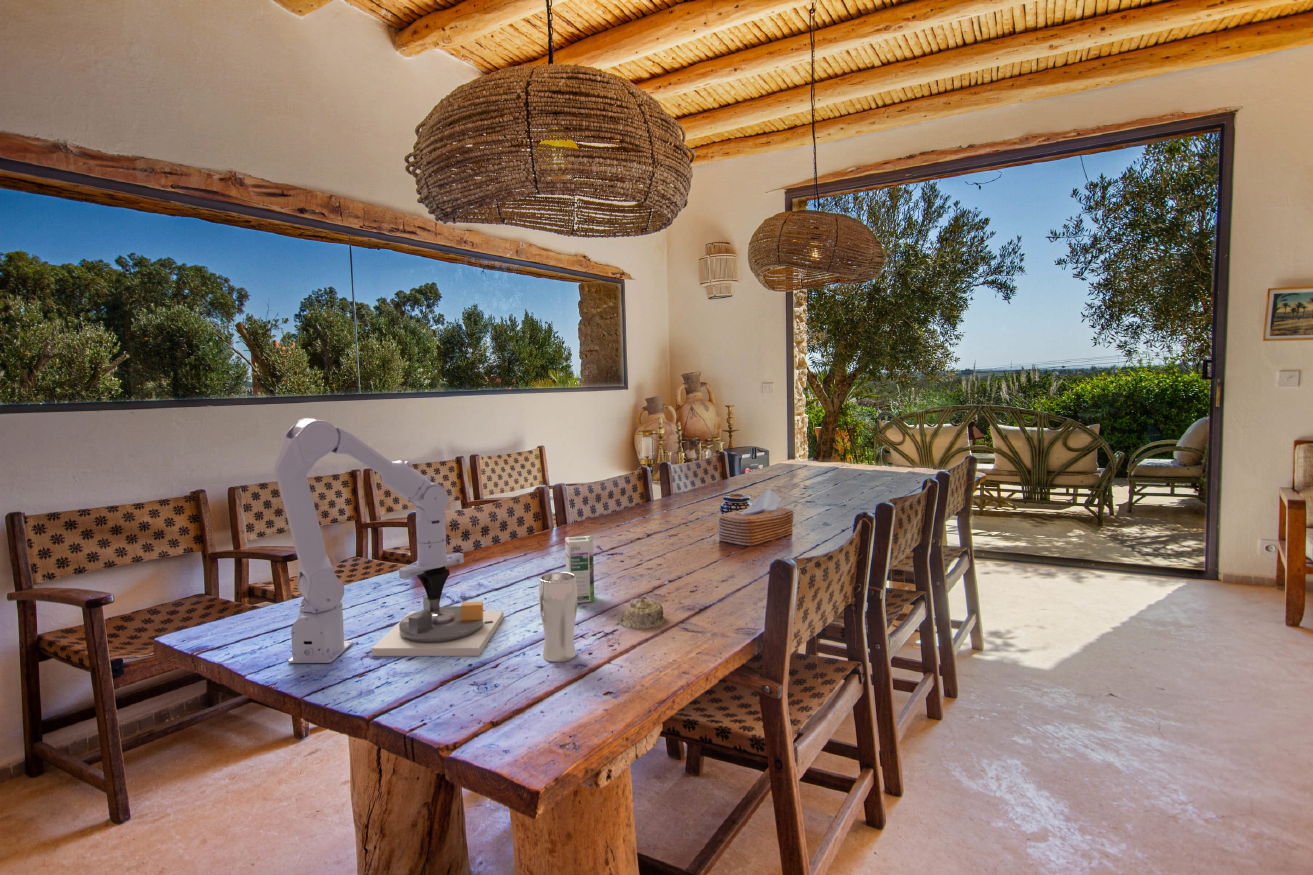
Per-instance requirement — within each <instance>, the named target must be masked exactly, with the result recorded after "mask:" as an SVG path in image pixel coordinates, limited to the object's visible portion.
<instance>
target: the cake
mask: <svg viewBox="0 0 1313 875" xmlns="http://www.w3.org/2000/svg"><path fill="white" fill-rule="evenodd" d="M629 604H630V607H629V608H626V609H625V610H624V614H621V615H620V616H619V617H618V623H619V624H620V625H621V626H623V627H626V628H628V629H651V628H650V627H653V628H655V626H657V627H659V626H661V625H663V623H664V624H665V622H666V621H665V617H664V607H663V606H662V604H661V603H658V602H657V601H654V600H651V599H650V600H649V599H644V598H641V597H640V599H633V600H631V601H630V603H629ZM658 625H659V626H658Z"/></svg>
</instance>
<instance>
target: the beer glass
mask: <svg viewBox="0 0 1313 875" xmlns="http://www.w3.org/2000/svg"><path fill="white" fill-rule="evenodd" d="M538 590H539V592H538V593H539V594H538V595H539V596H538V602H539V612H540V617H541V622H542V627H543V632H544V634H543V635H544V646H543V651H542V652H543V653H542V658H543V659H544V661H547V662H551V663H563V662H568V661H571V660H573V659H574V658H575V657H576V656H577V652H576V651H577V650H576V646H575V645H576V644H575V641H574V634H575V633H574V632H575V624H576V617H577V613H578V612H577V611H578V603H577V585H576V576H575V575H574V574H572V573H569V572H566V571H552V572H548V573H544V574H542V575H541V576H540V577H539V589H538Z"/></svg>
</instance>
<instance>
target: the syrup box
mask: <svg viewBox="0 0 1313 875" xmlns="http://www.w3.org/2000/svg"><path fill="white" fill-rule="evenodd" d="M564 547H565V548H564V550H565V572H569V573H572V574H574V575H575V576H576V585H577V604H583V603H584V604H585V603H594V602H595V574H594V572H595V571H594V568H595V567H594V564H595V563H594V540H593V538H592V537H591V536H590V535H584V536H570V537H569V536H566V537H565V538H564Z"/></svg>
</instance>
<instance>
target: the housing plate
mask: <svg viewBox="0 0 1313 875" xmlns="http://www.w3.org/2000/svg"><path fill="white" fill-rule="evenodd" d="M415 612H418V611H417V610H416V611H415V610H414V611H412V610H411V611H409V612H408V613H407V614H406V615H405V616H404V617H403V618H402V619H404V618H405V617H407V616H408V615H410V614H413V613H415ZM503 620H504V611H503V610H497V611H496V610H483V626H482V628H481V629H480V630H479V631H477V632H476V633H474V634H472V635H469V636H467V637H464V638H461V639H457V640H452V641H447V642H438V643H420V642H413V641H409V640H406V639H404V638H402V637H401V635H400V631H399V623H400V622H401V620H399V621H398V623H397V624H396V625H395V626H393V627H392V628H391V629H390V630H389V631H388V632H387V633H386V634H384V636H383V637H382V638H381V639H379V641H377V642H376V643H375V644H374V645H373V646H372V647H371V657H474V656H475V657H480V655H481V654H482V652H483V651H484V649H485V648H486V646H487V644H488V642H490V640H491V638H492V636H493V635H494V633H496V630H497V629H498V627H499V626H500V624H501V623H502V621H503Z"/></svg>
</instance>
